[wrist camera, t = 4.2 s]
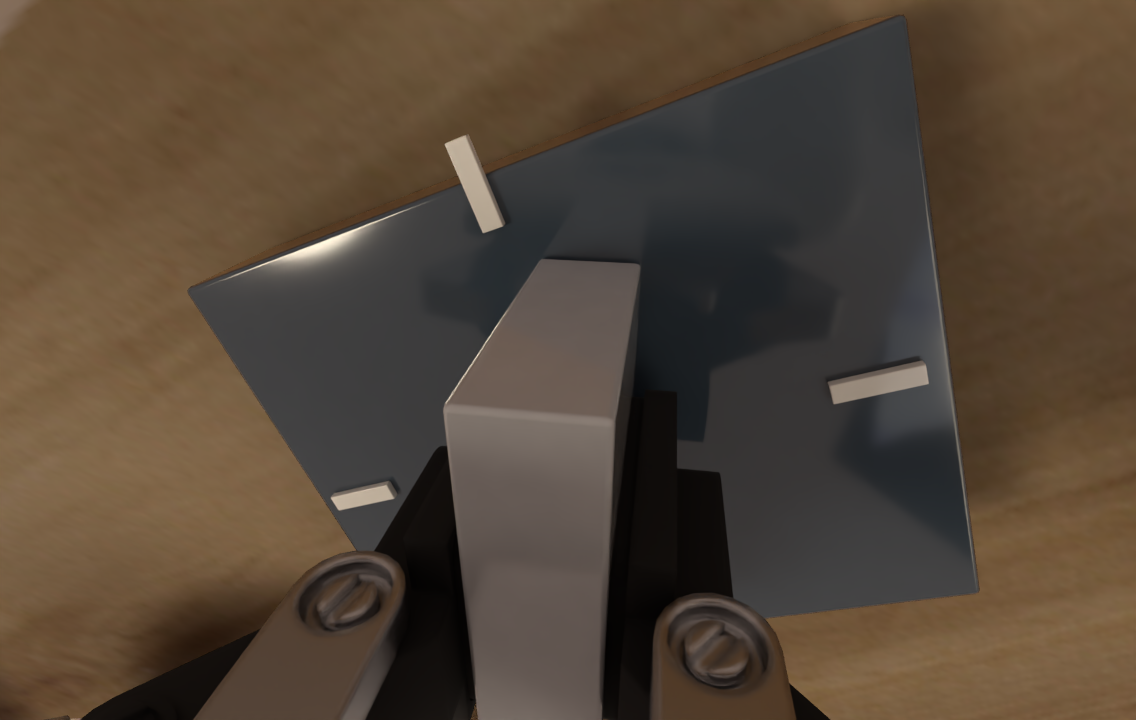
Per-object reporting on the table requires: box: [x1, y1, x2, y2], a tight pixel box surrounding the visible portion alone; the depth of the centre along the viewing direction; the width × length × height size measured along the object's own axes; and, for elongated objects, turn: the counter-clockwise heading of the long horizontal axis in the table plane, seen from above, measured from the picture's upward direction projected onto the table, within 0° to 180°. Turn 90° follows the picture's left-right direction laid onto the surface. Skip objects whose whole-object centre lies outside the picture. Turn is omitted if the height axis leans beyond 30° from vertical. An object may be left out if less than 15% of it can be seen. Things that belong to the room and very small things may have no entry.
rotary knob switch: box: [187, 15, 979, 619], centre depth 12 cm, size 12×11×3 cm
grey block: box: [443, 259, 641, 720], centre depth 9 cm, size 7×2×5 cm, turn 0°
